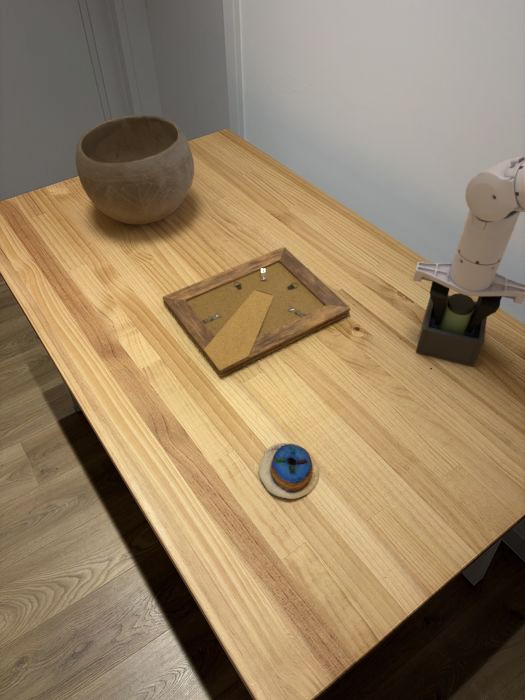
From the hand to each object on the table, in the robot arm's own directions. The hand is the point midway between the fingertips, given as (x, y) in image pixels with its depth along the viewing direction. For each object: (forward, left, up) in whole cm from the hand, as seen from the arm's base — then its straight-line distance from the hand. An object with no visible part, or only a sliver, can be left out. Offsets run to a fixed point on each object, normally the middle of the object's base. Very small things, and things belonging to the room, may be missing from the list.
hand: (453, 324), depth 82 cm
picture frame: (+30, +3, -4) cm, 30 cm away
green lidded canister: (0, 0, -1) cm, 1 cm away
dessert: (+16, +29, -4) cm, 34 cm away
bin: (0, 0, -3) cm, 3 cm away
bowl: (+60, -16, -4) cm, 62 cm away
